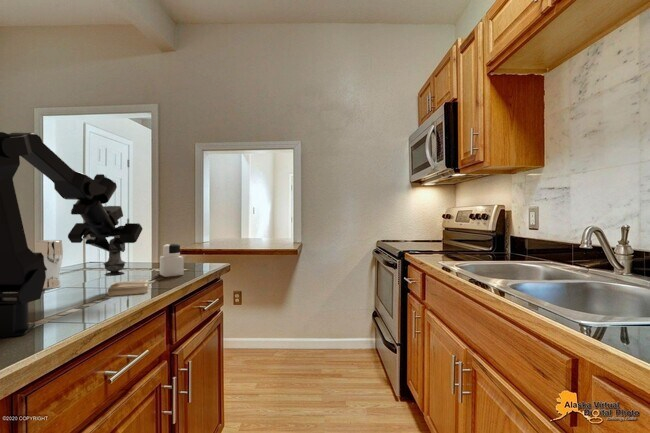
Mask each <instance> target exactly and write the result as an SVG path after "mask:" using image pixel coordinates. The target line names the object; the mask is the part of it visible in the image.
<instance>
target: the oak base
mask: <svg viewBox="0 0 650 433" xmlns="http://www.w3.org/2000/svg"><path fill="white" fill-rule="evenodd" d="M149 281H150V279H149V280H146V279H144V280H130V281H129V280H128V281H118V282H117V281H116V282H112V283H111V284H110V286H109V287H108V289H107V296H108V297H112V296H114V297H115V296H124V295H136V294H138V295H139V294H147V293H148V291H149V287H150V282H149Z"/></svg>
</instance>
